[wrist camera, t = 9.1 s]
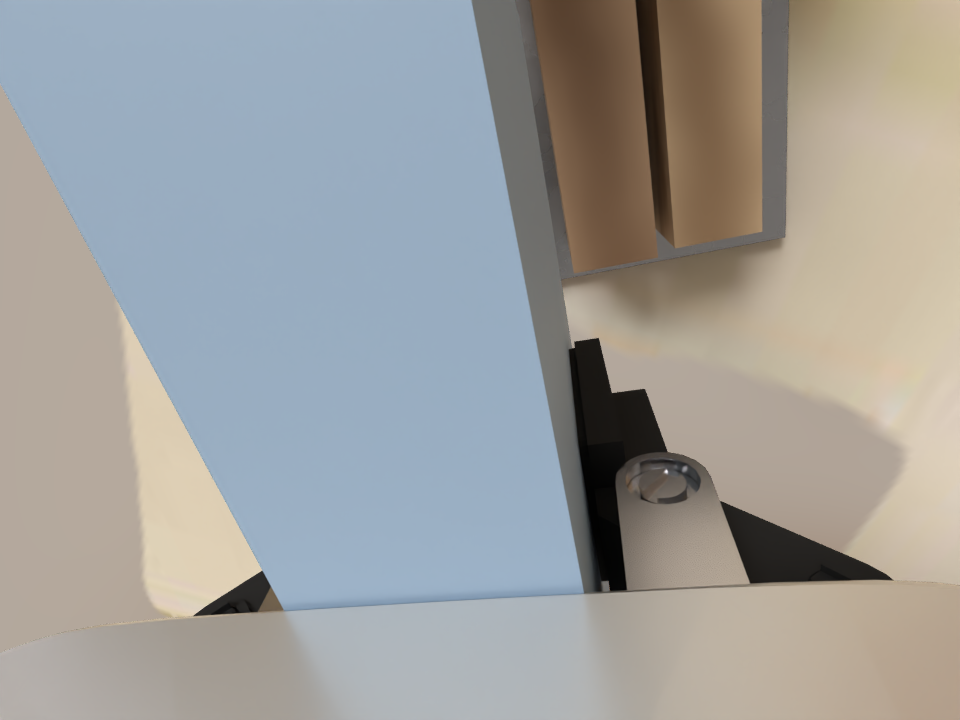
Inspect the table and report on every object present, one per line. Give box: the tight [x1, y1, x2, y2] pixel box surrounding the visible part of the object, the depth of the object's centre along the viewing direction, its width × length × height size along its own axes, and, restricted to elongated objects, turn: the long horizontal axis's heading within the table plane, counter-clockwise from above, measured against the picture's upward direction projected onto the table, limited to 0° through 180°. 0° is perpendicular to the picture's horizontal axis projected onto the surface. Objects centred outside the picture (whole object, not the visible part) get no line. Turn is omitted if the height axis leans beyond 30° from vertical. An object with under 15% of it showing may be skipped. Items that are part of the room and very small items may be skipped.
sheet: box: [0, 0, 610, 611], centre depth 10 cm, size 2×16×11 cm, turn 13°
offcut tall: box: [529, 0, 658, 273], centre depth 25 cm, size 4×14×6 cm, turn 13°
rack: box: [515, 0, 789, 279], centre depth 24 cm, size 25×21×9 cm
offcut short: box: [635, 0, 762, 248], centre depth 24 cm, size 4×14×5 cm, turn 13°
